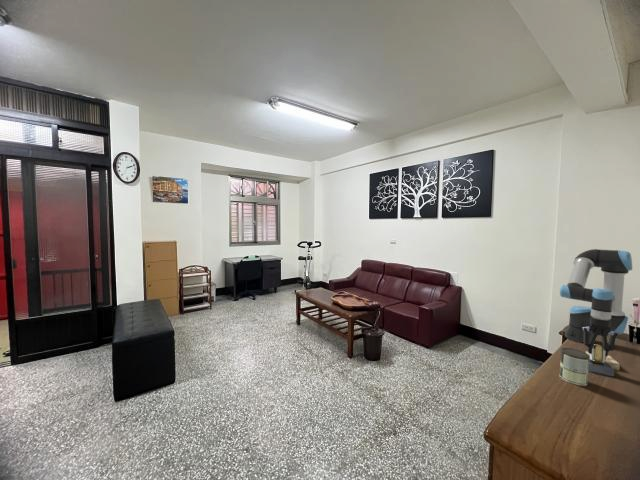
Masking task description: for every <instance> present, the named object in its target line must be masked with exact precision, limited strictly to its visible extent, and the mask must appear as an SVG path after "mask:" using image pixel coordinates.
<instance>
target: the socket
mask: <svg viewBox="0 0 640 480" xmlns="http://www.w3.org/2000/svg"><path fill="white" fill-rule="evenodd" d="M588 373H594V374H599V375H604V376H607V377H612V378H614V377H615V370H614V369H613V368H612V367H611V366H610V365H609V364H608V363H607V362H606V361H605V363H602V365H599V364H594V363H592V360H591V359H590V358H589V368H588Z"/></svg>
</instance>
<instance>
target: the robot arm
mask: <svg viewBox="0 0 640 480" xmlns="http://www.w3.org/2000/svg"><path fill="white" fill-rule="evenodd" d="M573 265H574V266H573V269H572V271H571V274H570V277H569V279H568V281H567V284H566V285H565V284H562V285H561V286H560V288H559V296H560V297H561V298H565V299H571V300H576V301H582V302H588V303H591V307H590V306H583V305H582V306H581V305H574V306H571V307H570V310H569V321H568V323H569V324H568V327H567V329H566V330H565V333H564V337H565V338H567V339H569V340H570V341H574V342H576V341H579V342H578V343H580V342H583V343H582V344H583V345H584V346H585V347H587V351H588V353H590V359H591V360H592V361H593V360H594V348H593V345H594V343H595V344H596V339H597V337H598V336H600V338H601V342H602V343H601V344H602V346H603V353H602V363H605V356H606V357H607V356H608V355H609V351H612V352H613V351H614V349H615V344H616V339H617V336H618V335H619V334H620V335H621V334H623V333H625V331H626V328H627V323H628V322H629V321H628V320H629V317H628V316H627V315H626V313H625V312H624V311H623V301H624V300H623V297H624V286H625V285H624V283H625V275H627V274H629V272H630V271H633V259H632V254H631V252H629V251H625V250H618V249H616V250H613V249H597V248H596V249H595V248H594V249H589V250H588V249H587V250H585V251H582V252H580V253H579V254H578V255H577V256H576V257H574V260H573ZM594 267H595V268H600V271H601V272H602V273H603V286H602V287H603V288H586V285H587V281H588V278H589V275H590V272H591V270H592V269H593V268H594ZM608 335H609V341H608V340H607V339H608V338H607V337H608Z"/></svg>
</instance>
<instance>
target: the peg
mask: <svg viewBox="0 0 640 480" xmlns="http://www.w3.org/2000/svg"><path fill="white" fill-rule="evenodd" d="M593 348H594V360H593V361H592V363H594V364H599V365H602V353H603V344H598V343H595V344H594V345H593Z"/></svg>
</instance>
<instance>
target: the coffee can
mask: <svg viewBox="0 0 640 480" xmlns="http://www.w3.org/2000/svg"><path fill="white" fill-rule="evenodd" d="M589 358H590V356H589V355H588V354H587V353H586V351H585V352H584V351H582V350H580V349H575V348H572V347H571V348H570V347H561V348H560V362H559V363H560V364H559V365H560V366H559V375H558V376H559V377H561V378H560V379H561V380H563V381H565V382H567V383H569V384H573V385H576V386H583V387H586V386H588V378H589V371H588V368H589Z"/></svg>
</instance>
